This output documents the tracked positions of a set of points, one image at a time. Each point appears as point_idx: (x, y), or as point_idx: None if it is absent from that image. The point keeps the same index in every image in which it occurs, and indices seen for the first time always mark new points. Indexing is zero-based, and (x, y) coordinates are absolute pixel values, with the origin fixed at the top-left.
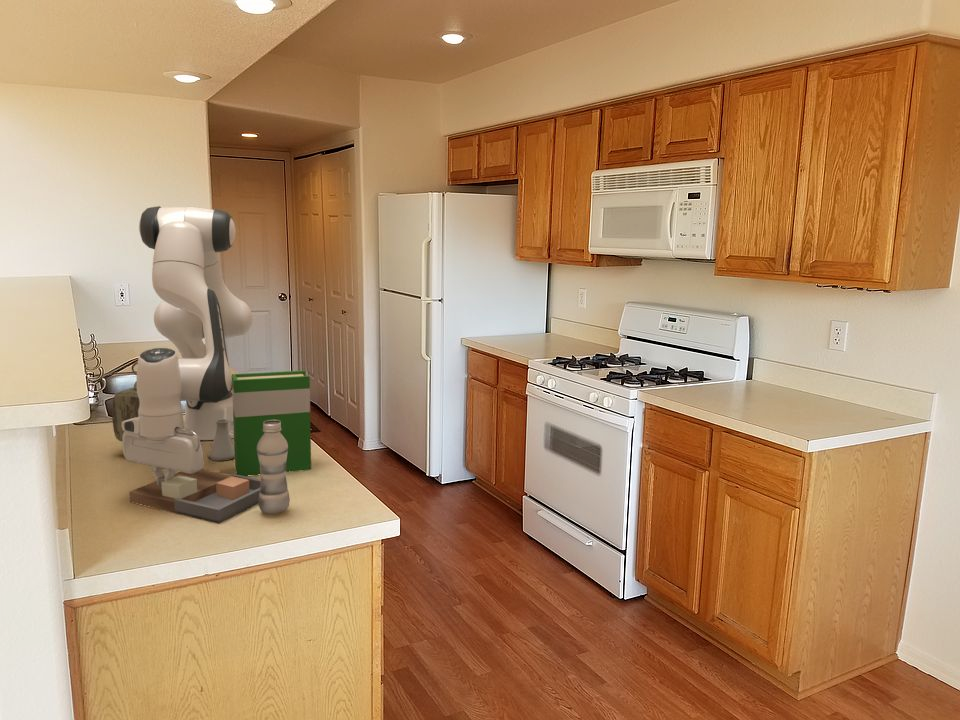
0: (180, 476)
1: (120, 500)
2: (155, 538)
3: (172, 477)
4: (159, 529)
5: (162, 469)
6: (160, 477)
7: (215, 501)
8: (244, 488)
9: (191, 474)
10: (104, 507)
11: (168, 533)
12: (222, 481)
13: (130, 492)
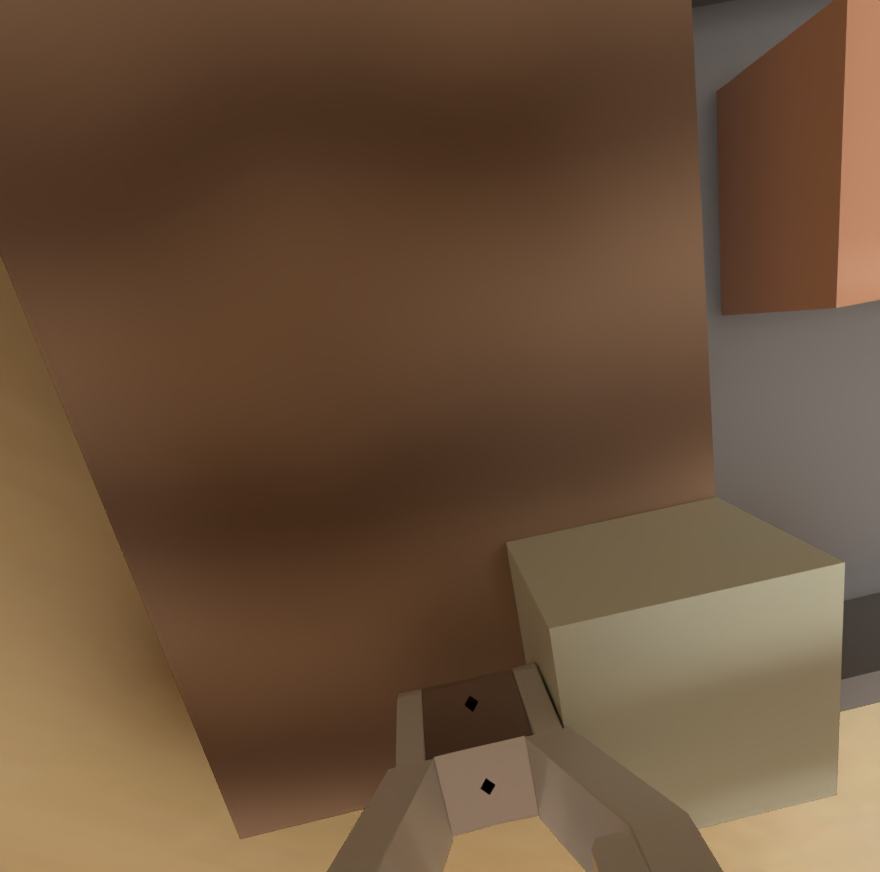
0: (600, 642)
1: (180, 770)
2: (836, 850)
3: (575, 738)
4: None
5: (386, 858)
6: (445, 815)
7: (801, 399)
8: None
9: (209, 212)
10: (231, 869)
11: (849, 792)
12: (867, 222)
13: (254, 829)
